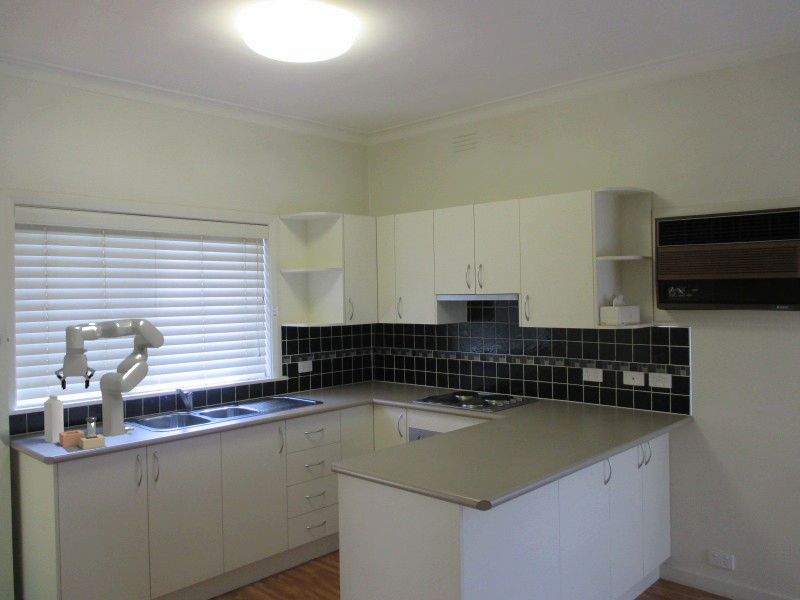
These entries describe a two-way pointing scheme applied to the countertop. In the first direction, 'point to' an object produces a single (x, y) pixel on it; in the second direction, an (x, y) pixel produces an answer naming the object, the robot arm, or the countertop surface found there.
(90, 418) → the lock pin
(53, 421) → the milk
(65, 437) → the board
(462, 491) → the countertop surface
